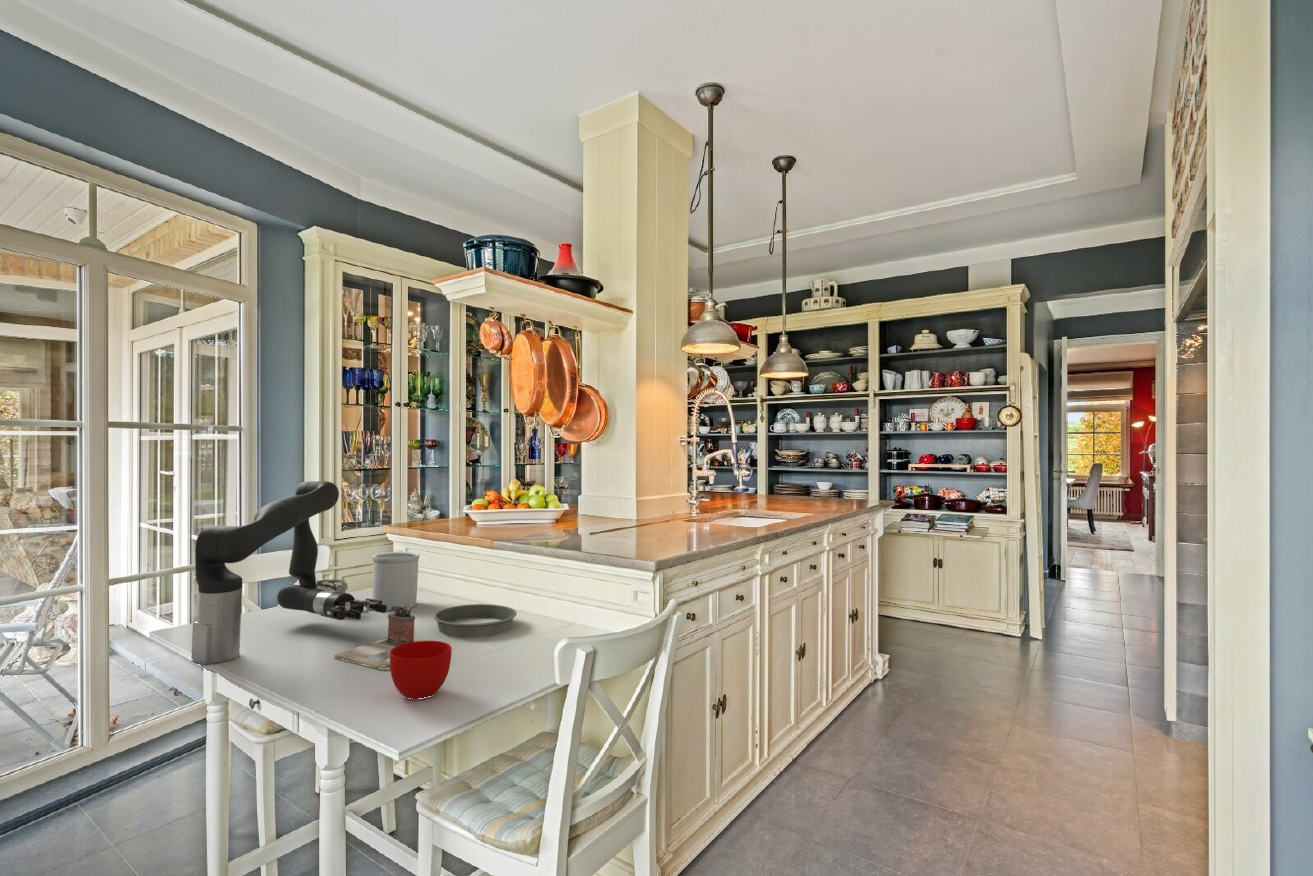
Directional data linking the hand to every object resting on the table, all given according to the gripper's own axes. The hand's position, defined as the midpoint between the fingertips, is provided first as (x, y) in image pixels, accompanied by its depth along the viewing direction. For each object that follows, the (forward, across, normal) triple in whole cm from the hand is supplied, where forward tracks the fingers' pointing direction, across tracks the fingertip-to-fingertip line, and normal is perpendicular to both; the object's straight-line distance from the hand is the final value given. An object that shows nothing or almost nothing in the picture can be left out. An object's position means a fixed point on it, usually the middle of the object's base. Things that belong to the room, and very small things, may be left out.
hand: (373, 612), depth 178 cm
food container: (-35, +15, +8) cm, 39 cm away
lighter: (+11, 0, +7) cm, 13 cm away
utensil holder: (-26, +31, +8) cm, 41 cm away
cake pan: (+14, +26, +9) cm, 31 cm away
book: (+12, -5, +8) cm, 16 cm away
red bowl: (+38, -20, +8) cm, 44 cm away
